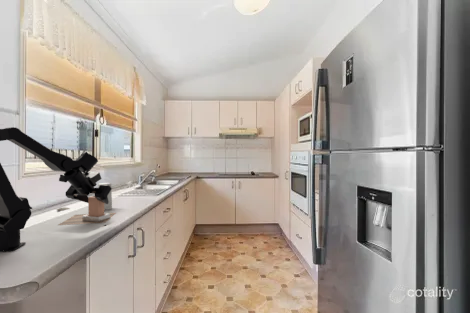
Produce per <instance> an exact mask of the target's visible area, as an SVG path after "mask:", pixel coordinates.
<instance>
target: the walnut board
mask: <svg viewBox="0 0 470 313" xmlns="http://www.w3.org/2000/svg"><path fill="white" fill-rule="evenodd" d="M109 213H110V218H108V219H105V220H103V221H100V222H94V221H82V216H85V215H88V214H89V213H85V214H84V213H83V214H74V215H73V216H70V217H68V218H67V219H65V220H64V221H62V222H60V223H58V226H66V225H83V224H84V225H85V224H86V225H87V224H102V223H103V224H104V223H107V222H108V221H109V220H111V218H113V217H114V215H116V214H117V212H109ZM106 226H107V224H105V225H103V227H106Z"/></svg>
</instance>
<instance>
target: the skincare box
mask: <svg viewBox="0 0 470 313" xmlns="http://www.w3.org/2000/svg"><path fill="white" fill-rule="evenodd" d="M100 185H109V186H110V187H111V188H112V183H110V182H101V183H97V188H99V186H100ZM112 195H113V194H112V190H111V191H110V193H109V194H108V196H107V197H108V204H105V203H104V211H105V210H113V203H112V202H113V200H112V198H113V197H112Z"/></svg>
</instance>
